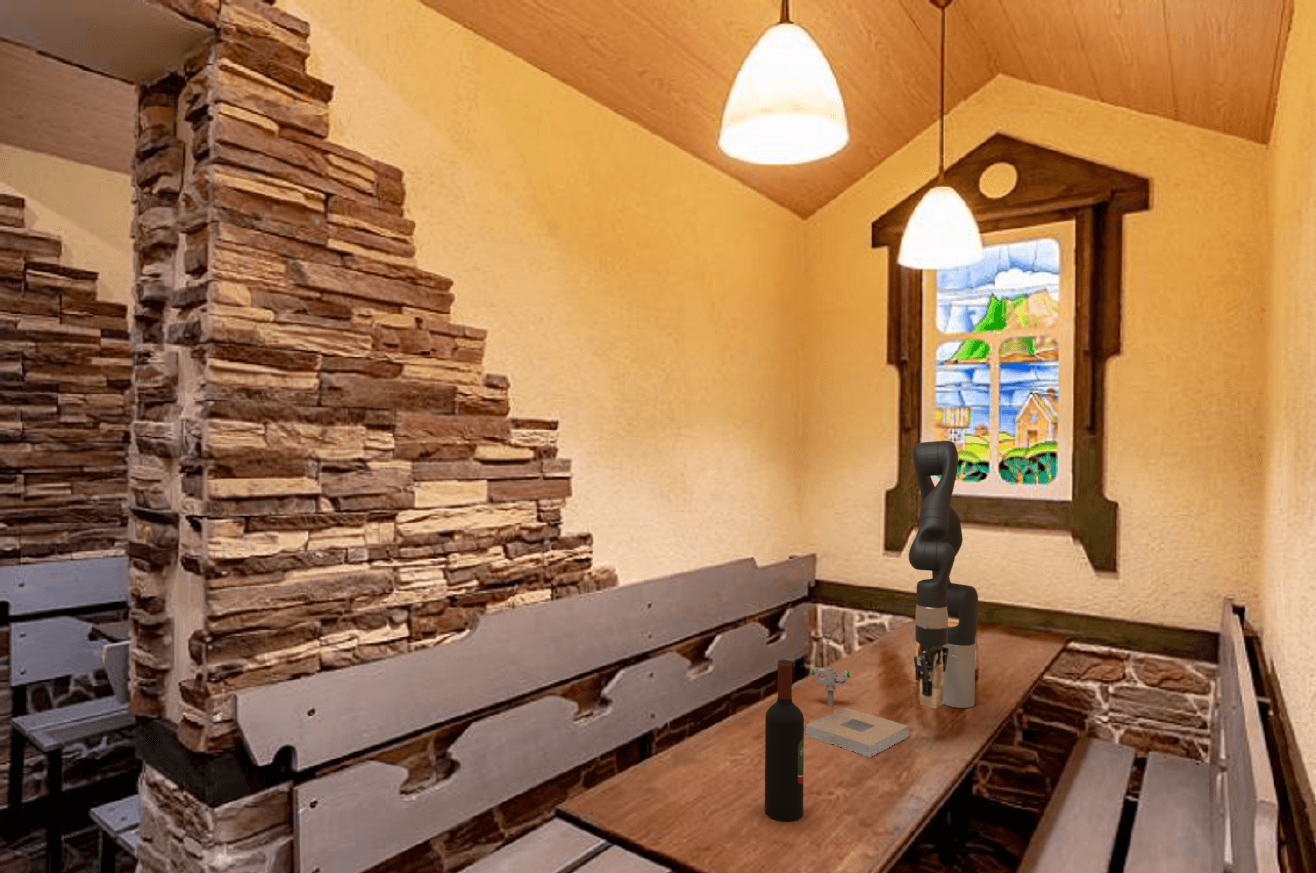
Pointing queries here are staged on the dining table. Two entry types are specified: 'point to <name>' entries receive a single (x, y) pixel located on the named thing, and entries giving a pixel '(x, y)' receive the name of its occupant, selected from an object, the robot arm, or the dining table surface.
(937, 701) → the wooden block
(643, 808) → the dining table surface
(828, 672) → the mechanical component
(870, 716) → the square slotted board
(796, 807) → the wine bottle
